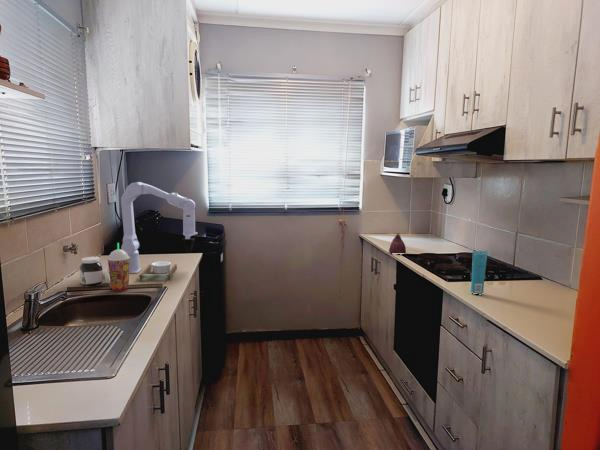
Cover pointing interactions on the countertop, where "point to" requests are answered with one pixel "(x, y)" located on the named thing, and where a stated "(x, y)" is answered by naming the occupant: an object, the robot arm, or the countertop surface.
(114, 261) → the smoothie
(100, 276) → the spread jar
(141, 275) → the channel
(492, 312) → the countertop surface
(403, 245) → the vegetable
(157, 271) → the ramekin
